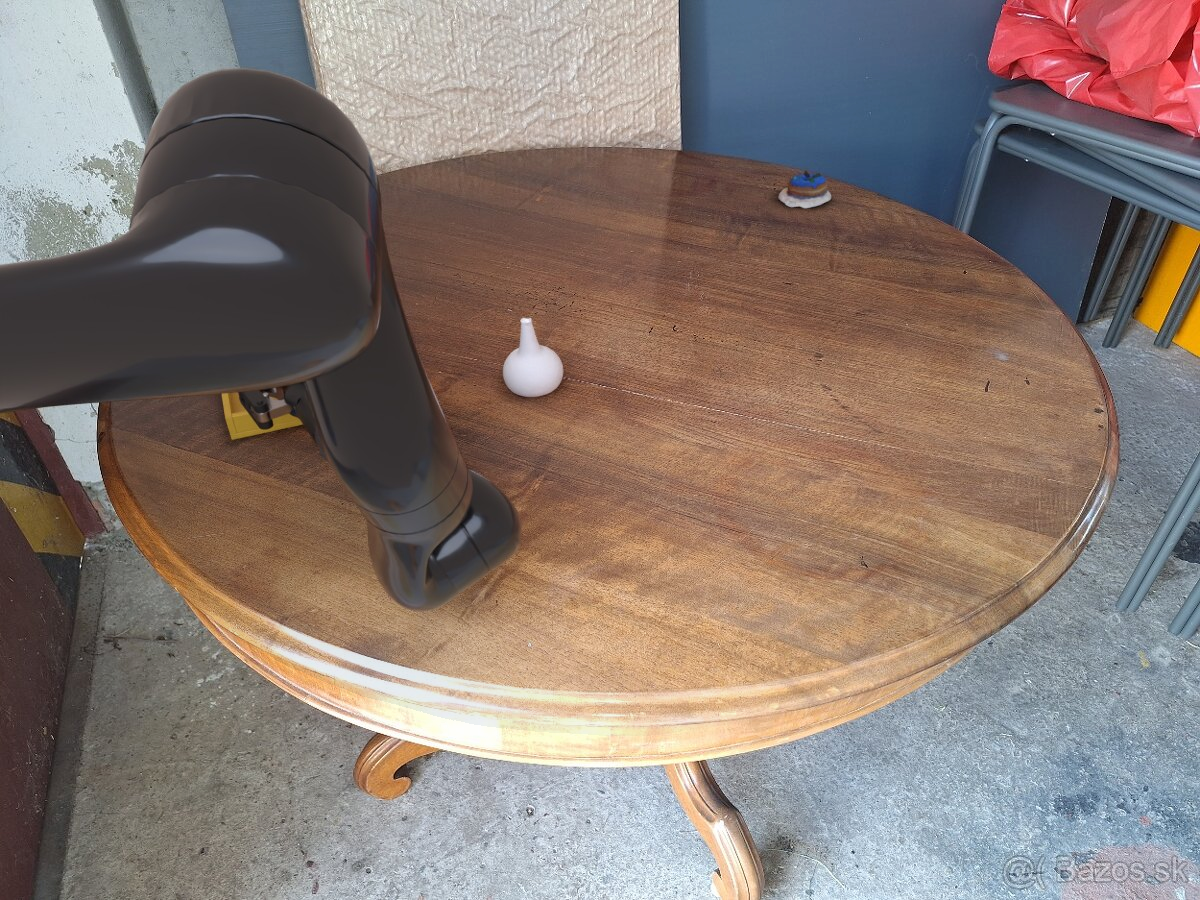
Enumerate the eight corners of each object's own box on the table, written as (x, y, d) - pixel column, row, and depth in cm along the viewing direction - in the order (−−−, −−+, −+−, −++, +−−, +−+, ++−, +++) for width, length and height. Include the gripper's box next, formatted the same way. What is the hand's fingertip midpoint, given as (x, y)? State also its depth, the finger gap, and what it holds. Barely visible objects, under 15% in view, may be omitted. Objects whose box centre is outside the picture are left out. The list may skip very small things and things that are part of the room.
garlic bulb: (573, 377, 95) (572, 310, 90) (545, 407, 91) (542, 338, 86) (522, 363, 97) (518, 297, 93) (492, 392, 93) (486, 324, 88)
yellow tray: (231, 440, 86) (225, 418, 84) (220, 368, 96) (214, 347, 95) (379, 408, 90) (375, 386, 89) (353, 342, 101) (349, 322, 99)
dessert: (818, 182, 139) (829, 158, 133) (830, 218, 137) (842, 197, 131) (769, 189, 138) (779, 166, 132) (780, 226, 136) (791, 205, 130)
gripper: (435, 364, 75) (364, 289, 86) (265, 417, 69) (211, 329, 79) (444, 437, 79) (375, 357, 90) (285, 492, 73) (231, 399, 84)
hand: (298, 344), depth 85 cm, fingers open, 8 cm apart
